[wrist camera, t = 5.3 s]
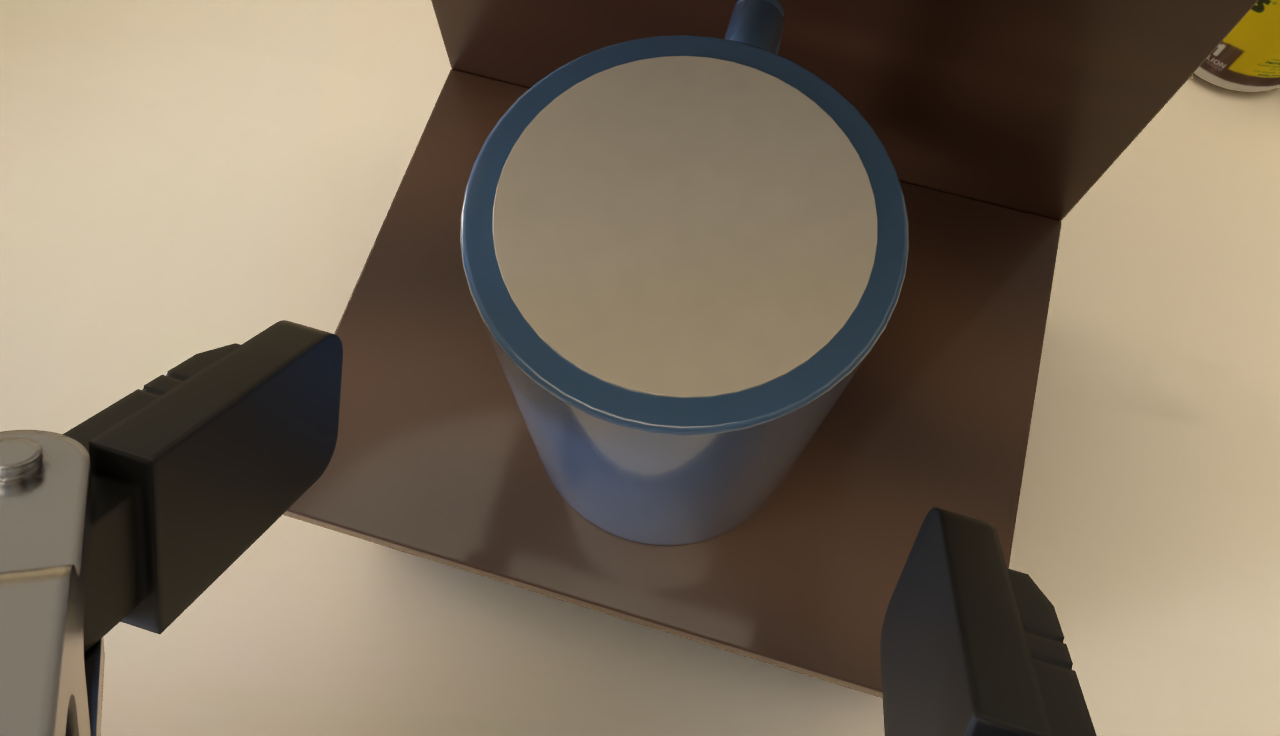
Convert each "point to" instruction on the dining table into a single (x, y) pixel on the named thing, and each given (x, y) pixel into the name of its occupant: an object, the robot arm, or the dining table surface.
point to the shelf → (878, 392)
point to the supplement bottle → (1248, 52)
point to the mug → (681, 270)
